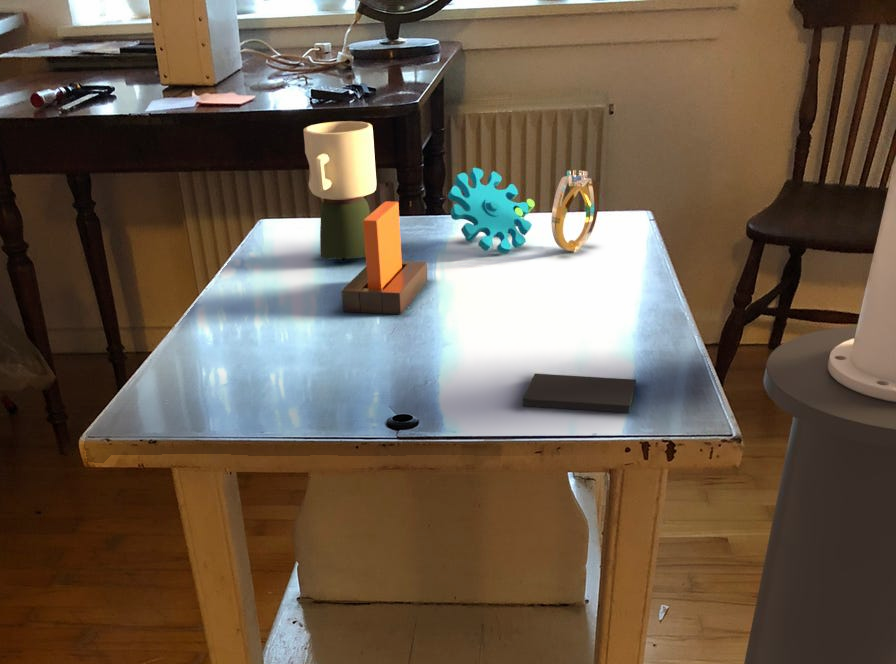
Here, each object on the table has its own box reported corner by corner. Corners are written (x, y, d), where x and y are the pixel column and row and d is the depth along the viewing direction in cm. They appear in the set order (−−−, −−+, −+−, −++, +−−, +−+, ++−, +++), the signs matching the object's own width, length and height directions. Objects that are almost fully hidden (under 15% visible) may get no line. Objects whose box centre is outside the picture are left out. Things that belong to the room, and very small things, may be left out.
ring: (582, 241, 108) (585, 162, 103) (605, 246, 106) (610, 166, 101) (540, 256, 104) (543, 175, 100) (564, 261, 103) (567, 179, 98)
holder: (427, 281, 99) (426, 261, 98) (400, 314, 92) (399, 293, 91) (373, 279, 101) (372, 259, 100) (343, 311, 93) (341, 290, 92)
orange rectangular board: (403, 285, 99) (398, 201, 94) (383, 308, 93) (377, 220, 89) (390, 284, 99) (384, 201, 94) (369, 307, 94) (362, 220, 89)
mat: (635, 386, 76) (636, 379, 76) (629, 413, 72) (629, 405, 72) (534, 380, 78) (534, 373, 78) (522, 406, 74) (522, 398, 74)
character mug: (340, 242, 112) (329, 116, 105) (397, 246, 110) (390, 117, 102) (297, 270, 105) (281, 136, 97) (357, 275, 102) (346, 138, 94)
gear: (472, 248, 102) (441, 163, 103) (446, 280, 107) (417, 199, 108) (554, 243, 107) (523, 163, 108) (526, 274, 112) (497, 197, 113)
